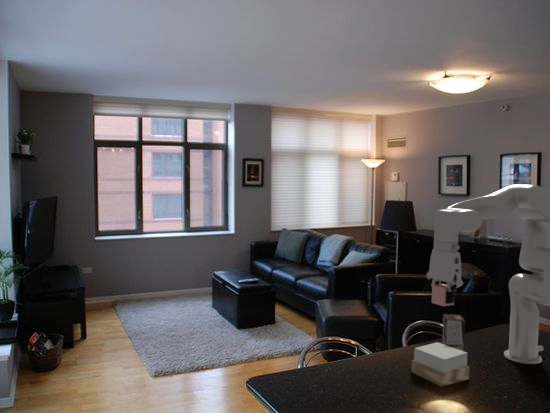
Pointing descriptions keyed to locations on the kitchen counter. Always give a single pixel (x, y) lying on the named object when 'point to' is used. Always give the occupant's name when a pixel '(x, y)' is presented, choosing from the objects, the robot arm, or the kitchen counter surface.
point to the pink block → (440, 295)
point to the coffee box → (453, 331)
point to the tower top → (440, 357)
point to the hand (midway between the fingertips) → (442, 300)
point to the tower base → (440, 374)
